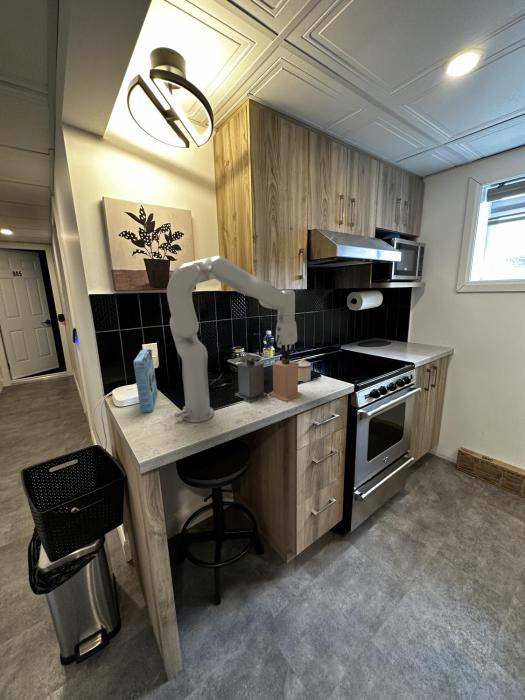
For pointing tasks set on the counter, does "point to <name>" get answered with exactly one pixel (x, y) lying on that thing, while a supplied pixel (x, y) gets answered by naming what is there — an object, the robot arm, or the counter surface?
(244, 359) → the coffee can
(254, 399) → the press
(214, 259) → the robot arm
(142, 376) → the gum box
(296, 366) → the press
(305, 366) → the teacup with lid
